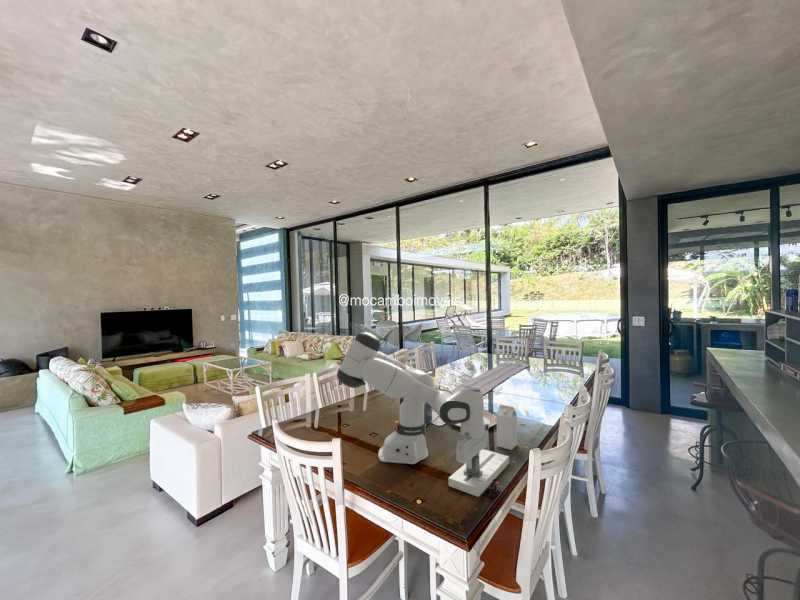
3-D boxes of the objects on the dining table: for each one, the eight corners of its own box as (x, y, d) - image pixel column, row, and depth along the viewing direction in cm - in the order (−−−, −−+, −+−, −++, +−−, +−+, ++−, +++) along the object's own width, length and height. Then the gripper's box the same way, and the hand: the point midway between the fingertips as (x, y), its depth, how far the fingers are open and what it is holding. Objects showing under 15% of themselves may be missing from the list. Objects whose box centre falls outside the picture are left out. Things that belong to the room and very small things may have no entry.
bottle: (425, 425, 188) (424, 371, 188) (411, 420, 194) (410, 368, 194) (435, 420, 195) (434, 368, 195) (421, 416, 202) (421, 366, 201)
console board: (478, 497, 119) (478, 488, 119) (448, 485, 126) (448, 477, 126) (509, 463, 143) (509, 456, 143) (482, 455, 150) (482, 448, 150)
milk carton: (502, 441, 165) (502, 402, 165) (517, 445, 160) (516, 405, 160) (496, 446, 159) (496, 406, 159) (511, 450, 155) (511, 409, 155)
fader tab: (477, 477, 126) (477, 461, 126) (463, 472, 129) (462, 456, 129) (482, 472, 129) (482, 456, 129) (468, 467, 133) (468, 452, 133)
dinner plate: (499, 434, 174) (499, 428, 174) (446, 431, 179) (446, 425, 179) (495, 416, 200) (495, 410, 200) (449, 413, 206) (449, 408, 206)
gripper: (467, 440, 119) (467, 479, 119) (490, 423, 135) (491, 457, 135) (451, 436, 123) (452, 474, 123) (476, 419, 139) (476, 453, 139)
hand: (472, 465), depth 129 cm, fingers closed on fader tab, 3 cm apart
